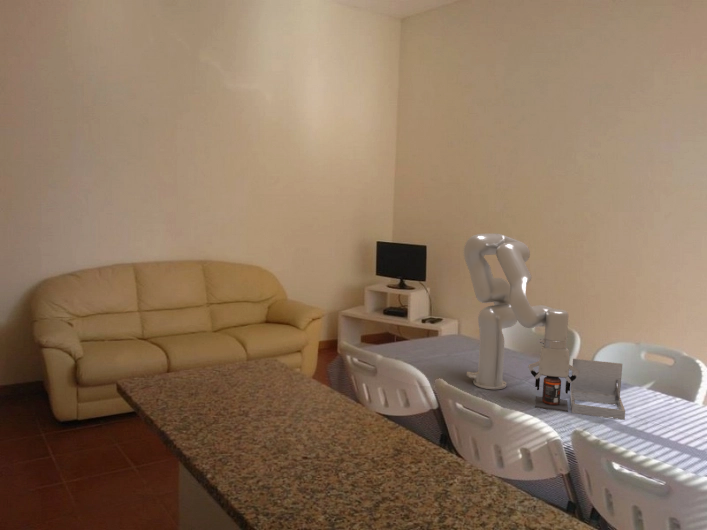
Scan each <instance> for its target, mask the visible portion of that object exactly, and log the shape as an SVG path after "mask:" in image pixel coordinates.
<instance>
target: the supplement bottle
mask: <svg viewBox="0 0 707 530" xmlns="http://www.w3.org/2000/svg"><path fill="white" fill-rule="evenodd" d="M561 386H562V379H561V377H552V376H545V377H543V384H542V396H541V397H542V401H543V402H544V403H546V404H549V405H558V404H559V403H560V399H561V391H562V389H561V388H562V387H561Z"/></svg>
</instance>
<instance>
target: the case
mask: <svg viewBox="0 0 707 530" xmlns="http://www.w3.org/2000/svg"><path fill="white" fill-rule="evenodd" d="M571 366H573V367H574V368H576V369H578V370H579V371H580V373H579V375H578V376H577V377H576V379H575V380H573V381H572V382H571V383H570V398H569V399H570V400H569V401H570V407H571V413H573V414H580V415H586V416H587V415H588V416H595V417H600V416H603V417H602V418H608V417H613V418H612V419H615V418H618V419H617V420H624V421H625V419H626V410H625V406H624V403H623V401H622V398H621V386H622V378H623V377H622V375H623V363H618V362H609V361H602V360H601V361H599V360H590V359H583V358H582V359H581V358H572V365H571ZM574 373H575V372H573V371H572V370H571V376H572V375H573V374H574ZM575 401H582V402H591V403H599V404H605V403H608V404H607V405H613V404H615V405H614V406H617V409H616V408H609V407H604V406H603V407H601V406H594V405H587V404H578V403H576V402H575Z"/></svg>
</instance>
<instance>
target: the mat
mask: <svg viewBox="0 0 707 530" xmlns="http://www.w3.org/2000/svg"><path fill="white" fill-rule="evenodd" d="M542 397H543V396H537V395H535V400H534V401H535V402H534V408H536V409H544V410H550V411H552V410H553V411H558V412H565V413H569V404H568V399H561V398H560V403H559V404H558V405H549V404H546V403H544V402H543V401H542Z"/></svg>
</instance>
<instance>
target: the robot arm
mask: <svg viewBox="0 0 707 530" xmlns="http://www.w3.org/2000/svg"><path fill="white" fill-rule="evenodd" d="M490 255H491V256H494V255H495V256H496V259H497V261H498V263H499V265H500V268H501V269H502V271H503V273H504V276H505V277H506V279H504V278H502V277H494V275H493V271H492V268H491V265H490V263H489V262H488V260H486V257H485V256H490ZM530 256H531V251H530V248H529V247H528V245H527V244H526V243H525V242H523V241H521V240H518V239H515V238H512V237H509V236H507V235H505V234H502V233H478V234H474V235H472V236H470V237H469V238H468V239H467V240H466V242H465V244H464V247H463V259H464V261H465V264H466V266H467V269H468V272H469V276H470V277H469V278H470V281H471V283H472V288H473V291H474V294H475V298H476V300H477V301H478V302H480V303H481V304H488V303H489V304H490V303H493V305H490V306H486V307H484V308H482V309H481V310H480V312H479V314H478V316H477V322H478V328H479V330H478V331H479V343H478V344H479V346H478V365H477V367H478V368H477V371H475V372H472V371H466V377H468V378H469V379H474V380H473V385H475V386H476V387H478V388H480V389H484V390H494V391H495V390H502V389H503V390H504V389H505V388H506V387H507V382H506V381H505V380H503V379H504V378H503V376H504V375H503V374H504V359H505V358H504V357H505V355H504V354H505V337H504V333H503V329H507V328H512V327H513V326H514V325H516V324H517V322H518V323H519V324H520V326H522V327H523V328H525V329H526V328H527V329H533V328H537V327H543V326H544V338H542V339H539V343H540V344H542V346H541V349H540V352H539V353H540V354H539V359H538V361H535V362H532V363H531V364H528V367H527V368H528V370H529V372H530V374H531V375H532V376H533V377H534V379H535V381H534V382H535V384H534V385H535V386H534V388H537V389H536V390H537V391H540V382H541V381H540V380H541V378H540V377H542V376H545V377H546V376H552V377H559V378H560V379H561V378H563V379H564V378H565V389H564V390H565V392H564V393H565V394H569V393H568V392H571V382H572V381H573V380H575V379H576V377H577V376H578V375H579V373H580V371H579V370H578V369H576V368H574V367H573V366H572V365H571V364H570V350H569V348H567V342H568V329H569V327H568V326H569V312H568V311H567V310H565V309H562V308H561V309H560V308H553V307H550V306H547V305H545V304H539V305H531V304H530V301H529V299H528V296H527V287H528V285H529V283H530V282H531V281H532V278H533V277H532V274H531V272H530V270H529V268H528V266H527V264H526V263H527V262H528V260H529V259H530ZM536 367H538V371H537V372H536V371H535V369H534V368H536ZM570 371H571V372H572V371H573V372H575V373H574V374H573V375H572V374H571V376H570Z"/></svg>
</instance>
